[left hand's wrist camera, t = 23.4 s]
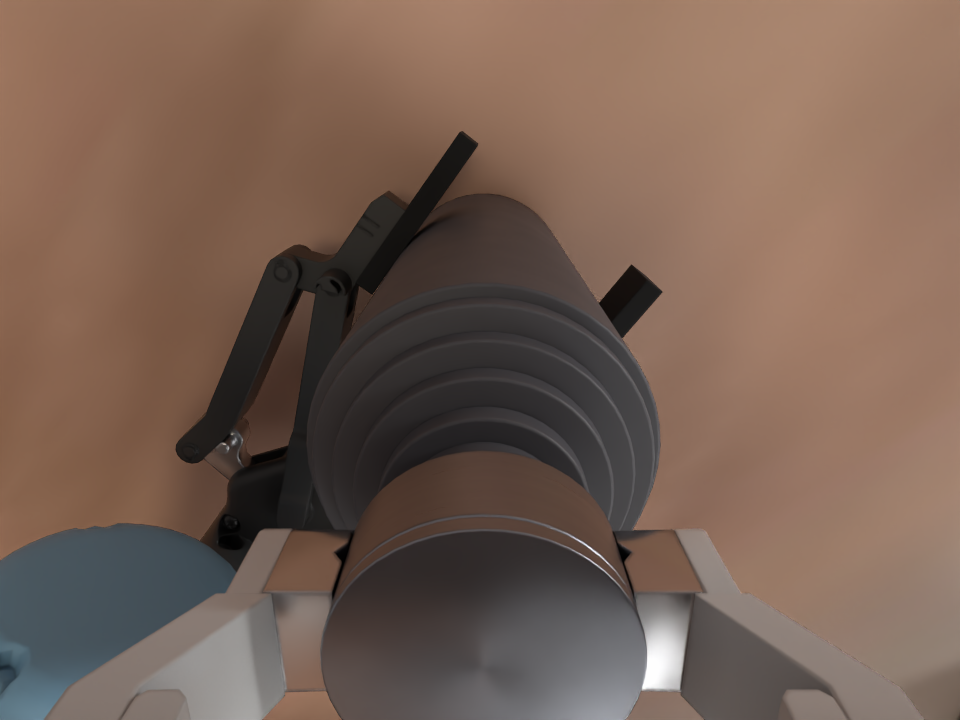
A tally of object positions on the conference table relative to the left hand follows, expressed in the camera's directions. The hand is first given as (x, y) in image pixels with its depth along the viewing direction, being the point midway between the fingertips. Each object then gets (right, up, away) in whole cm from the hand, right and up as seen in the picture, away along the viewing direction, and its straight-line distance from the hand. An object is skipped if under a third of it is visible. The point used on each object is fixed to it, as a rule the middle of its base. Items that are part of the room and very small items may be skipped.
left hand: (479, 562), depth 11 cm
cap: (0, -1, -2) cm, 2 cm away
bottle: (0, +7, +21) cm, 22 cm away
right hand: (+3, +9, +13) cm, 16 cm away
